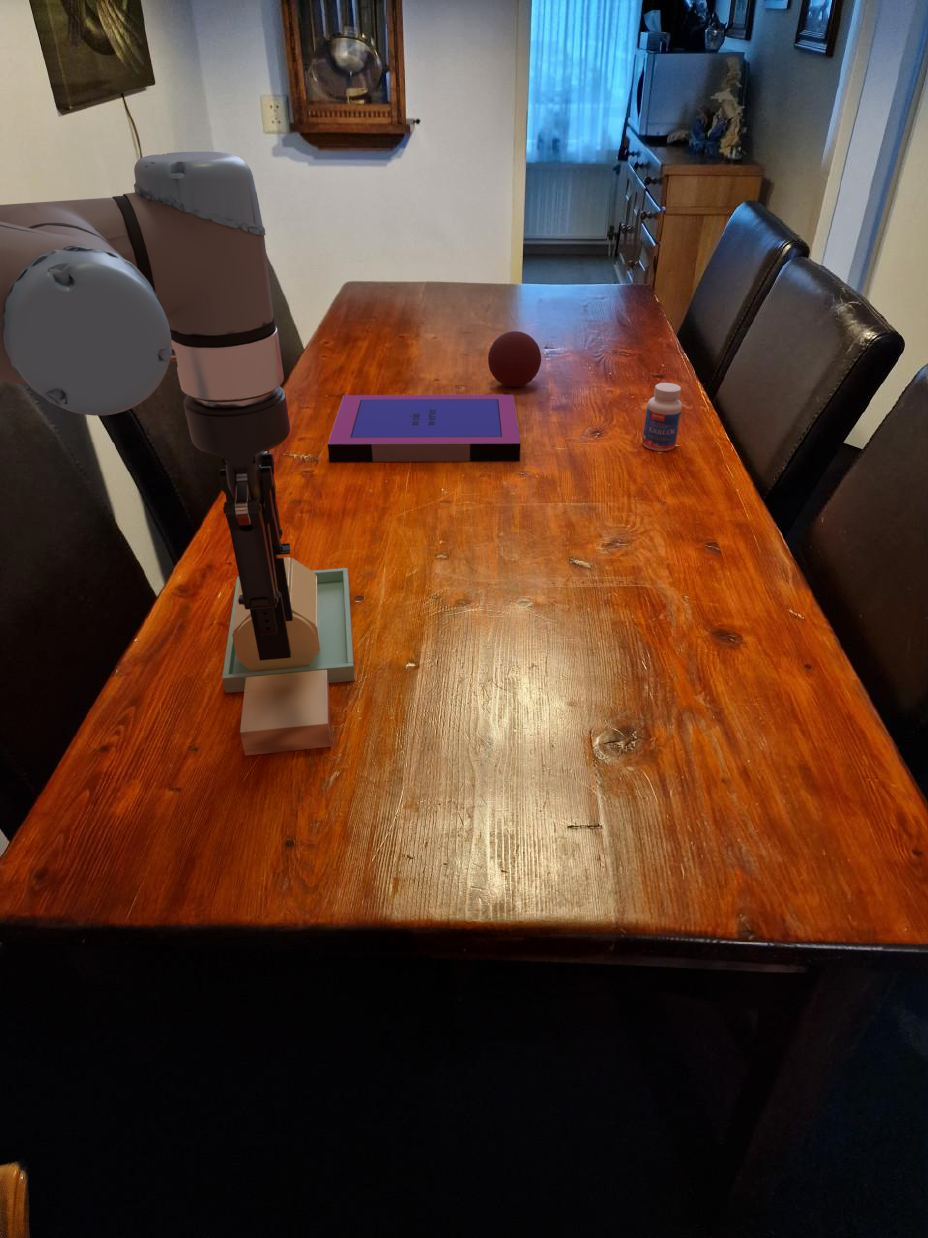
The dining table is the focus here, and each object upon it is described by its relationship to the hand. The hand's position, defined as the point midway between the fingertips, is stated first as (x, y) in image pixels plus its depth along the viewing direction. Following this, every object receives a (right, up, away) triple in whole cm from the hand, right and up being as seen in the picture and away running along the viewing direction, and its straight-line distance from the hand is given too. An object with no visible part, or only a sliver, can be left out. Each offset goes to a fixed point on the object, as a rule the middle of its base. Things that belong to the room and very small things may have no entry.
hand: (276, 637), depth 75 cm
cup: (-2, -1, +7) cm, 8 cm away
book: (+11, +32, +62) cm, 71 cm away
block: (0, -8, +5) cm, 10 cm away
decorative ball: (+27, +46, +81) cm, 97 cm away
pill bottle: (+49, +30, +59) cm, 82 cm away
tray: (-2, 0, +17) cm, 17 cm away
